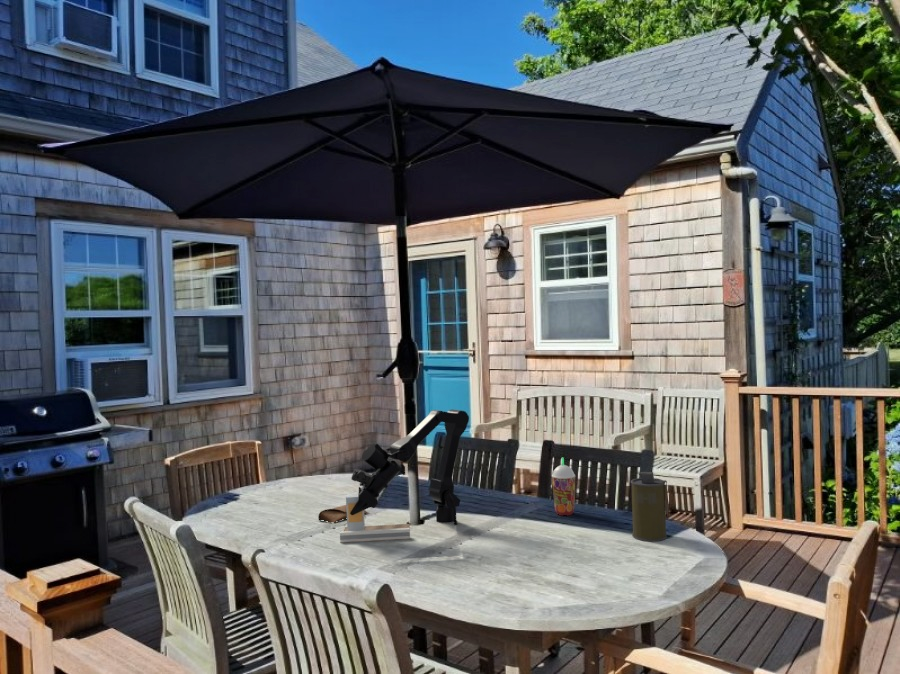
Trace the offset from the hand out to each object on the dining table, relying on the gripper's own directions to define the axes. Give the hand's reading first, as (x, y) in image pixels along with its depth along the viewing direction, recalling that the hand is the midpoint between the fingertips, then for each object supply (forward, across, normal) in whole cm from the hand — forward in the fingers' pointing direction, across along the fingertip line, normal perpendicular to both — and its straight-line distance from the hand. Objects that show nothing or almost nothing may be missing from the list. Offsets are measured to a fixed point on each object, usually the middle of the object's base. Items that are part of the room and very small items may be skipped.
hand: (351, 512), depth 236 cm
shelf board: (+1, -1, +12) cm, 12 cm away
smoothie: (-46, -12, +59) cm, 76 cm away
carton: (+3, 0, +5) cm, 6 cm away
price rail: (0, +6, +11) cm, 12 cm away
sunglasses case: (+9, -29, +4) cm, 30 cm away
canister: (-59, +20, +72) cm, 95 cm away
